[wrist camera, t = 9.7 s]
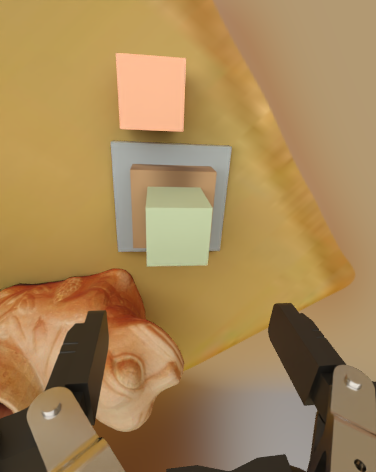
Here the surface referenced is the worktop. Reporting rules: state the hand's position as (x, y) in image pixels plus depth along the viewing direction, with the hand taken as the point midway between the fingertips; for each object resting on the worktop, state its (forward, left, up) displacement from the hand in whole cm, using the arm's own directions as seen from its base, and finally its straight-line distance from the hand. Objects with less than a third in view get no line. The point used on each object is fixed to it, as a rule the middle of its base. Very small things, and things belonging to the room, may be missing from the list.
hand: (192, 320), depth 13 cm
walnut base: (0, 0, -18) cm, 18 cm away
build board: (0, 0, -19) cm, 19 cm away
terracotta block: (-2, +10, -19) cm, 22 cm away
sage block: (0, 0, -15) cm, 15 cm away
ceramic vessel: (-12, -16, -20) cm, 28 cm away
